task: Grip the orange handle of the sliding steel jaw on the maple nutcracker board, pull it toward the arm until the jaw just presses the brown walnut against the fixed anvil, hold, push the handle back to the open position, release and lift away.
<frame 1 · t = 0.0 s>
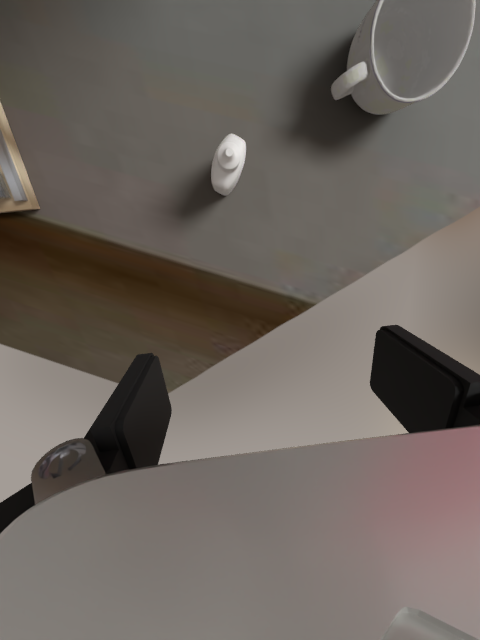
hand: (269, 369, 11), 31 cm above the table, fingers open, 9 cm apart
teacup: (365, 79, 32), on the table
eye dropper bottle: (227, 173, 35), on the table
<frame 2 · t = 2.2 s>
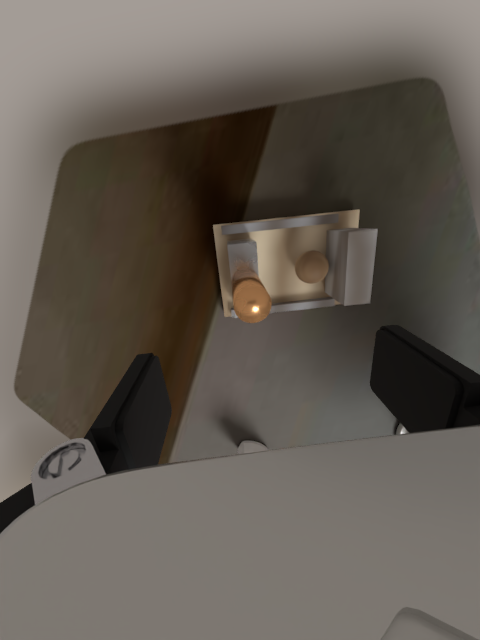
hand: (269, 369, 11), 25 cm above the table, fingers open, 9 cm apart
cracker board: (285, 264, 34), on the table
walnut: (306, 264, 32), point 1 cm above the table, touching cracker board
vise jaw: (246, 284, 26), point 9 cm above the table, slide at 0.0 cm
eye dropper bottle: (252, 446, 46), on the table
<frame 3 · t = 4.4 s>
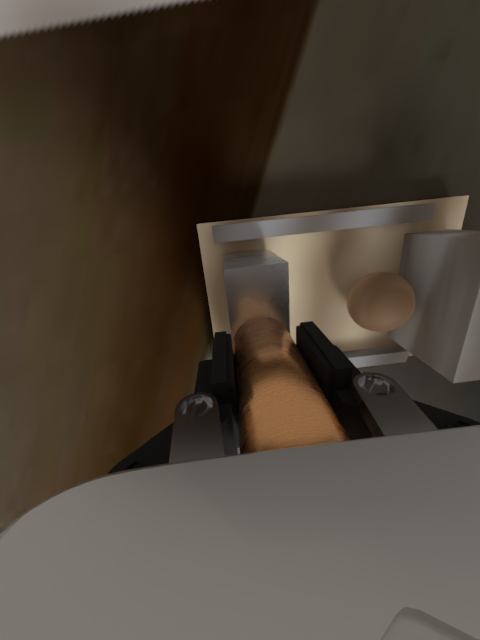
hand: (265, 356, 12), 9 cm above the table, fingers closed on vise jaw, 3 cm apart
cracker board: (322, 291, 20), on the table
walnut: (363, 293, 18), point 1 cm above the table, touching cracker board
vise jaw: (265, 355, 12), point 9 cm above the table, slide at 0.0 cm, touching gripper
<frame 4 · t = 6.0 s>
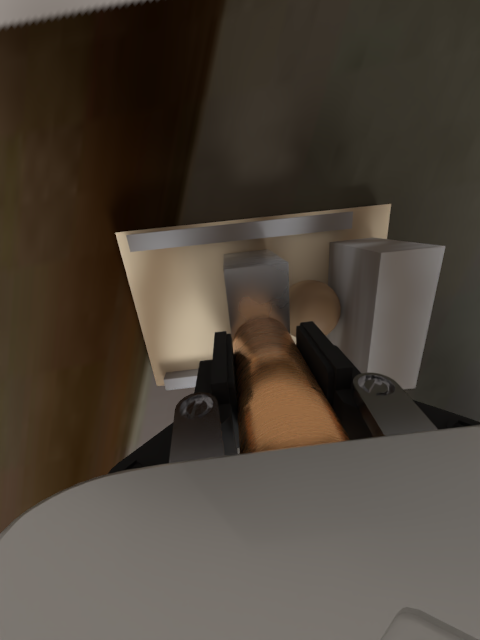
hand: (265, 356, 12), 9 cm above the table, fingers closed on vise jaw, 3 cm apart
cracker board: (258, 299, 20), on the table
walnut: (294, 301, 18), point 2 cm above the table, tilted 13°, touching cracker board
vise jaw: (265, 355, 12), point 9 cm above the table, slide at 5.2 cm, touching gripper
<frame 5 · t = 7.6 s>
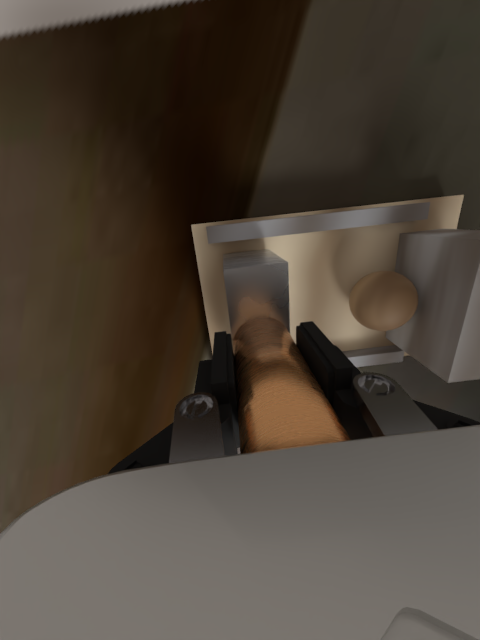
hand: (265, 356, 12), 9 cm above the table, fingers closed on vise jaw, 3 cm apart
cracker board: (318, 292, 20), on the table
walnut: (359, 293, 18), point 2 cm above the table, tilted 14°, touching cracker board
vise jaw: (265, 355, 12), point 9 cm above the table, slide at 0.3 cm, touching gripper
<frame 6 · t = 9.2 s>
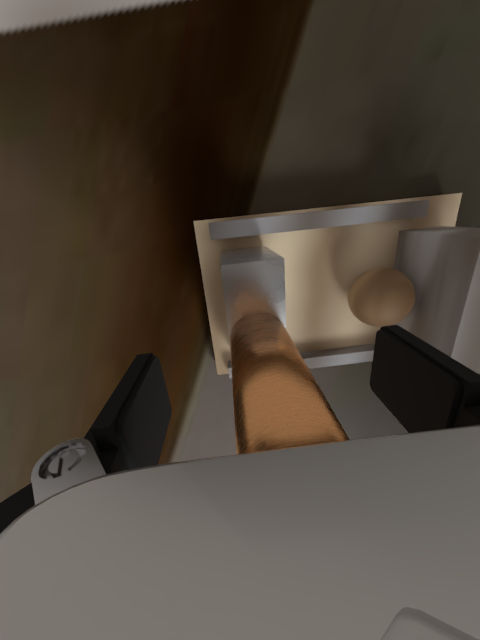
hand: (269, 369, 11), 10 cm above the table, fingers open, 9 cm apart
cracker board: (319, 288, 20), on the table
walnut: (359, 290, 19), point 2 cm above the table, tilted 12°, touching cracker board
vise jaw: (261, 349, 12), point 9 cm above the table, slide at 0.0 cm
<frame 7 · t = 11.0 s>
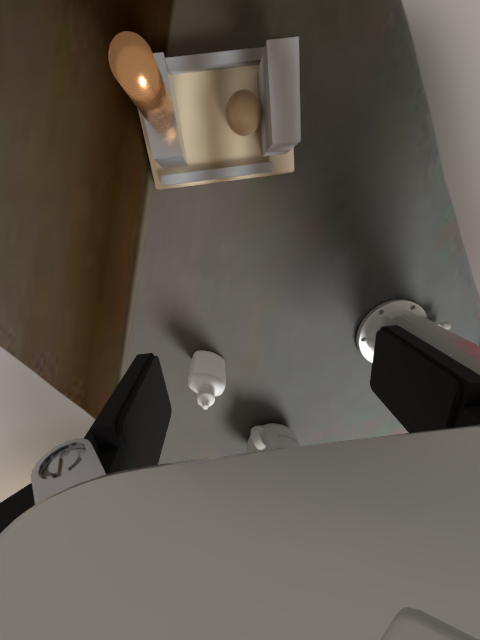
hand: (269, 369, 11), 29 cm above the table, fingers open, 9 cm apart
teacup: (266, 429, 52), on the table
cracker board: (218, 127, 31), on the table
walnut: (239, 120, 30), point 2 cm above the table, tilted 9°, touching cracker board
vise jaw: (155, 104, 23), point 9 cm above the table, slide at 0.0 cm
eye dropper bottle: (208, 358, 44), on the table
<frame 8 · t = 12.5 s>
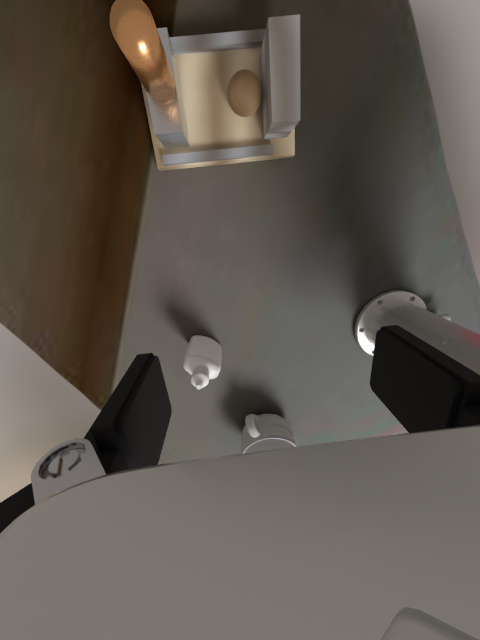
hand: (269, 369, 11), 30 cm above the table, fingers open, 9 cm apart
teacup: (262, 419, 51), on the table
cracker board: (221, 109, 31), on the table
walnut: (241, 102, 30), point 2 cm above the table, tilted 7°, touching cracker board
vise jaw: (157, 77, 23), point 9 cm above the table, slide at 0.0 cm
eye dropper bottle: (205, 344, 44), on the table
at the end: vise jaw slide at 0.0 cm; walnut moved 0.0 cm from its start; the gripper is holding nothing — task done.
